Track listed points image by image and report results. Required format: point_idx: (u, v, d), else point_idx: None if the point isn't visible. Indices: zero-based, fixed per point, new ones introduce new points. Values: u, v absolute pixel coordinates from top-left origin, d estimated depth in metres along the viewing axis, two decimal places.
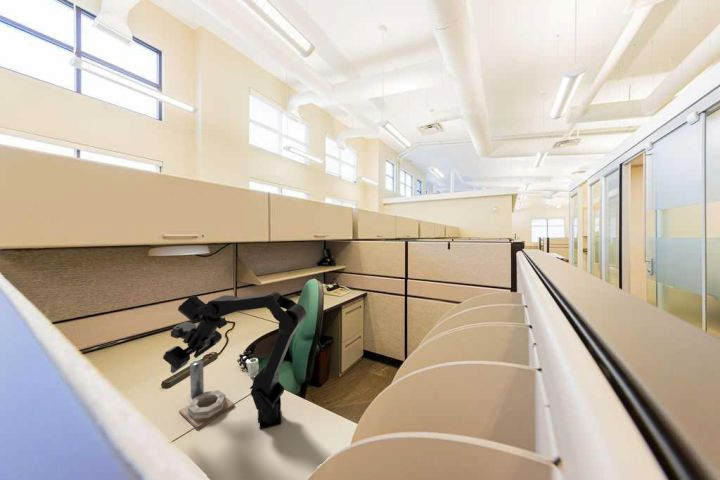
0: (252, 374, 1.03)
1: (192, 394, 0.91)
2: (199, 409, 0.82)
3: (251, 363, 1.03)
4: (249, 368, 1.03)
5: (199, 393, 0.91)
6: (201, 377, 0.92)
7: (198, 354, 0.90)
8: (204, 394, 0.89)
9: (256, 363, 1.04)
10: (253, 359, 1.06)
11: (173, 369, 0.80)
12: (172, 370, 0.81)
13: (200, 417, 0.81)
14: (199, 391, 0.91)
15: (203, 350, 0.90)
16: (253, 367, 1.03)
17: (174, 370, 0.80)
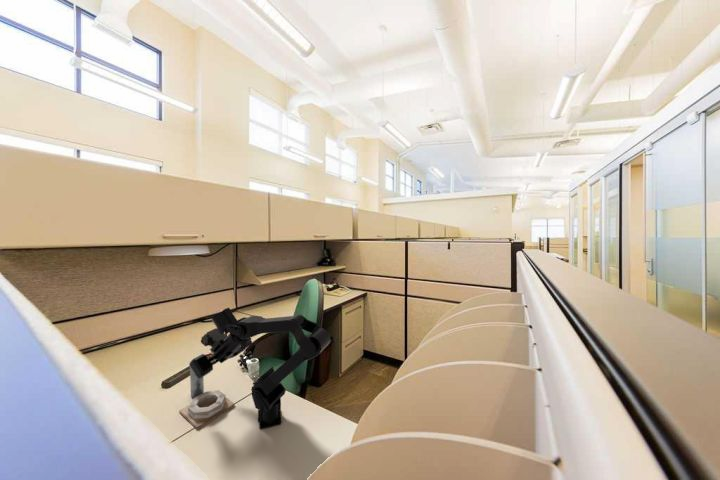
0: (252, 374, 1.03)
1: (192, 394, 0.91)
2: (199, 409, 0.82)
3: (251, 363, 1.03)
4: (249, 368, 1.03)
5: (199, 393, 0.91)
6: None
7: None
8: (204, 394, 0.89)
9: (256, 363, 1.04)
10: (253, 359, 1.06)
11: None
12: (196, 373, 0.85)
13: (200, 417, 0.81)
14: (199, 391, 0.91)
15: None
16: (253, 367, 1.03)
17: None
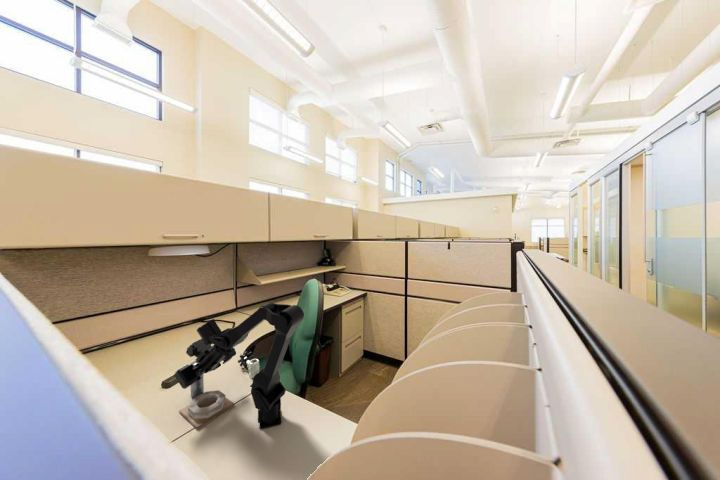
0: (253, 375, 1.03)
1: (192, 394, 0.91)
2: (199, 409, 0.82)
3: (252, 364, 1.02)
4: (250, 369, 1.03)
5: (199, 393, 0.91)
6: (201, 377, 0.92)
7: (202, 372, 0.94)
8: (204, 394, 0.89)
9: (257, 364, 1.03)
10: (254, 360, 1.05)
11: None
12: None
13: (200, 417, 0.81)
14: (199, 391, 0.91)
15: None
16: (254, 368, 1.03)
17: None
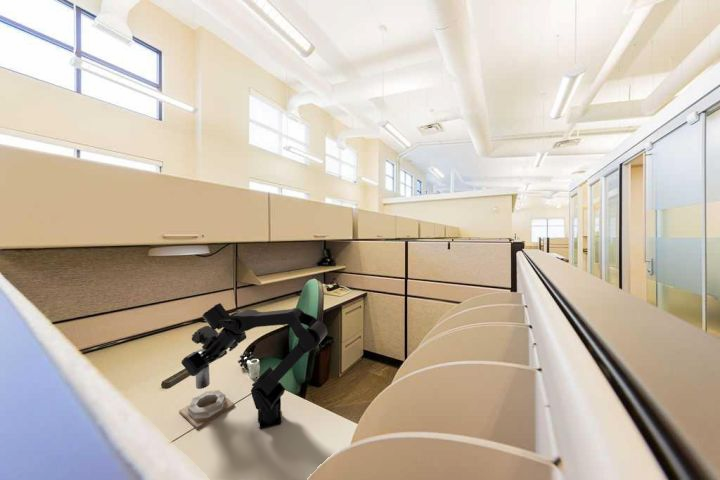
0: (253, 375, 1.03)
1: (198, 384, 0.86)
2: (199, 409, 0.82)
3: (252, 364, 1.02)
4: (250, 369, 1.02)
5: (205, 383, 0.87)
6: None
7: None
8: (204, 394, 0.89)
9: (257, 364, 1.03)
10: (254, 360, 1.05)
11: None
12: None
13: (200, 417, 0.81)
14: (205, 381, 0.87)
15: (213, 358, 0.89)
16: (254, 368, 1.02)
17: None
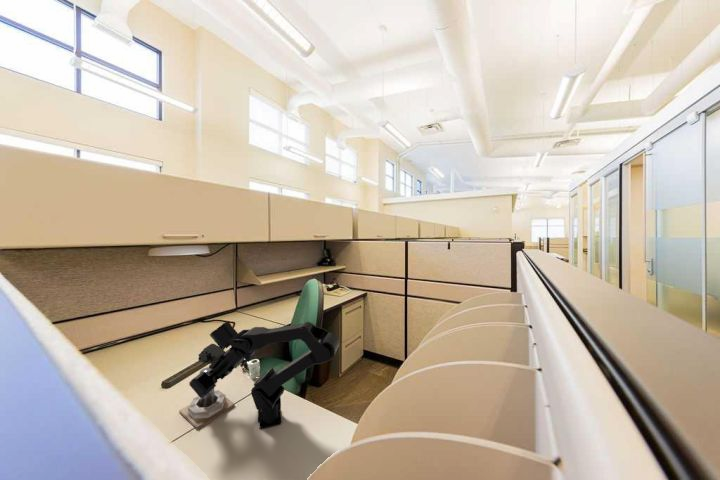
0: (253, 375, 1.02)
1: (203, 404, 0.84)
2: (199, 409, 0.82)
3: (252, 364, 1.02)
4: (250, 369, 1.02)
5: (211, 402, 0.85)
6: None
7: None
8: None
9: (257, 364, 1.03)
10: (254, 360, 1.05)
11: None
12: None
13: (200, 417, 0.81)
14: (211, 400, 0.85)
15: (218, 377, 0.87)
16: (254, 368, 1.02)
17: None
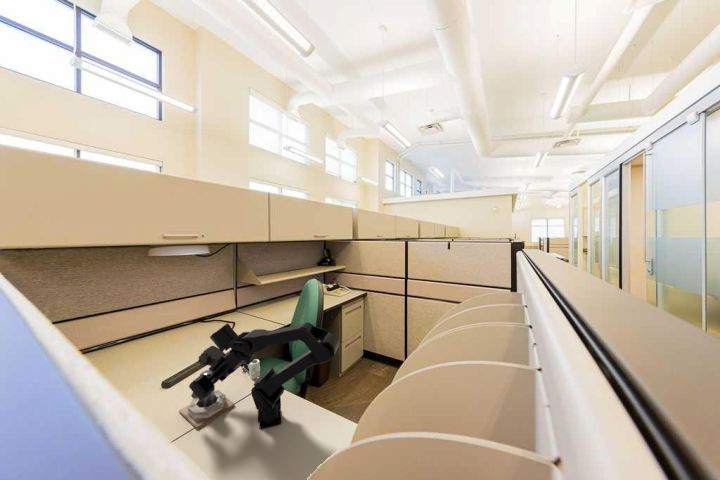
0: (253, 375, 1.02)
1: None
2: (199, 409, 0.82)
3: (252, 364, 1.02)
4: (250, 369, 1.02)
5: None
6: None
7: None
8: None
9: (257, 364, 1.03)
10: (254, 360, 1.05)
11: (194, 395, 0.80)
12: (193, 395, 0.80)
13: (200, 417, 0.81)
14: (211, 403, 0.85)
15: None
16: (254, 368, 1.02)
17: (195, 396, 0.80)
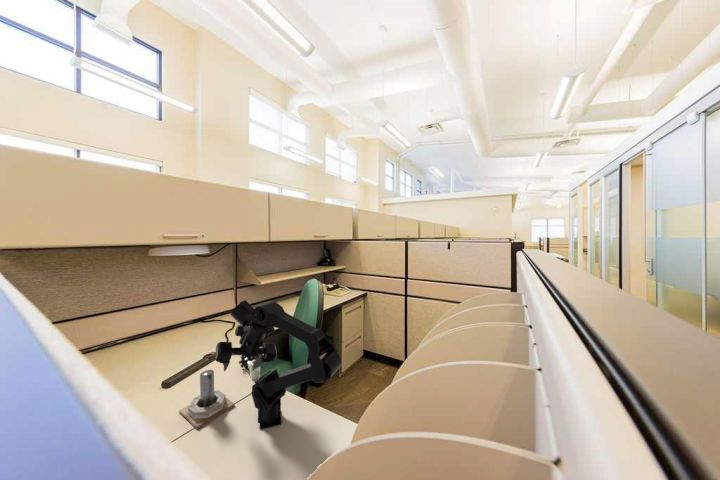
0: (254, 376, 1.02)
1: None
2: (199, 409, 0.82)
3: None
4: (251, 370, 1.02)
5: None
6: (212, 387, 0.85)
7: (254, 366, 0.88)
8: None
9: None
10: None
11: None
12: None
13: (200, 417, 0.81)
14: (211, 403, 0.85)
15: (257, 363, 0.87)
16: (255, 369, 1.02)
17: None
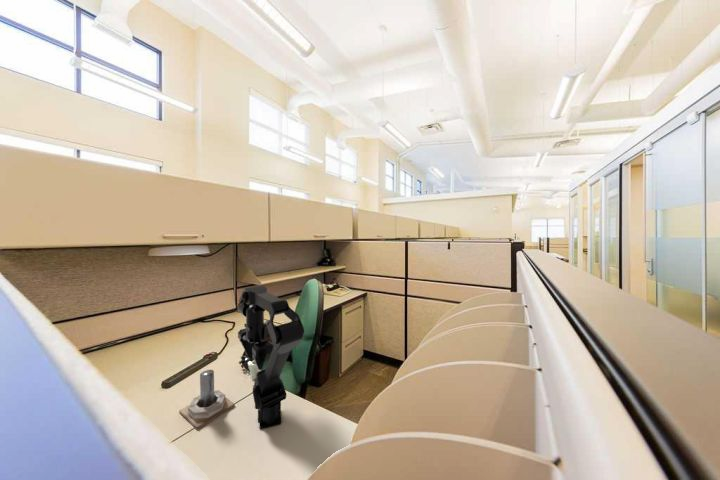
0: (254, 376, 1.02)
1: None
2: (199, 409, 0.82)
3: (253, 365, 1.02)
4: (251, 370, 1.02)
5: None
6: (212, 387, 0.85)
7: None
8: None
9: None
10: None
11: None
12: None
13: (200, 417, 0.81)
14: (211, 403, 0.85)
15: None
16: (255, 369, 1.02)
17: None
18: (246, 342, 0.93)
